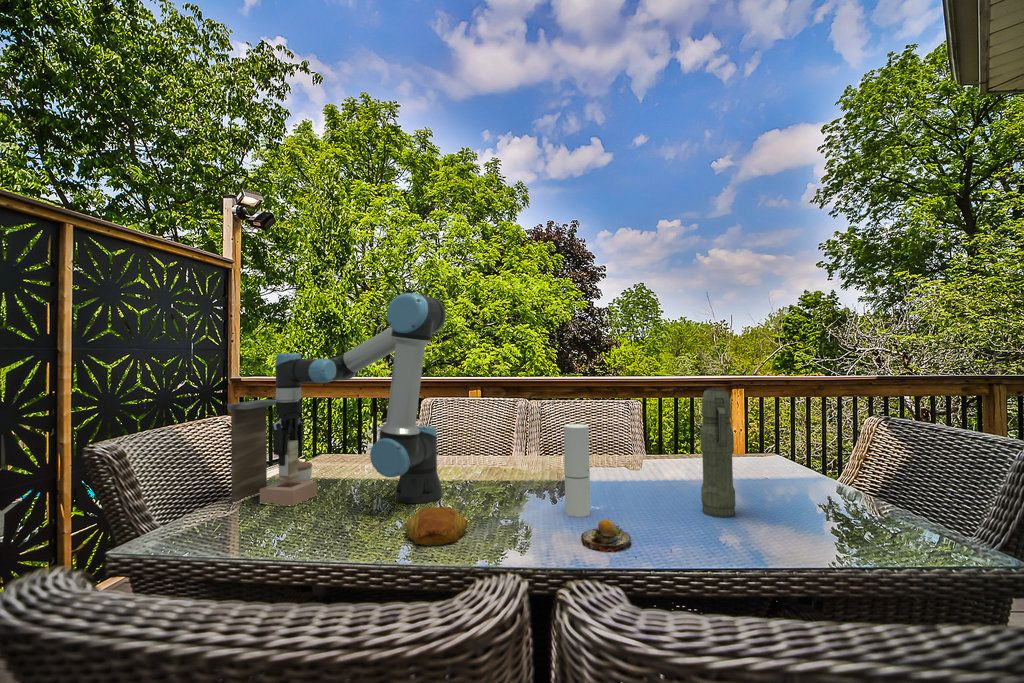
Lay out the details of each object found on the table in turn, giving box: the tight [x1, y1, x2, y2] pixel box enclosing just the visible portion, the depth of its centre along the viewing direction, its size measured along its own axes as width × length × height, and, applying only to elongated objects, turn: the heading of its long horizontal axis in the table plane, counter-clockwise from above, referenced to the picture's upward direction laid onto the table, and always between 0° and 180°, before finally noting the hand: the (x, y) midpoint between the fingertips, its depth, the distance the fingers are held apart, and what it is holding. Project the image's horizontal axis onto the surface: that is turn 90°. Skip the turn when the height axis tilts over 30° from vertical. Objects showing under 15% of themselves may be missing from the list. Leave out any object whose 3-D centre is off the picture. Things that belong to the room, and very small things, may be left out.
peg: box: [278, 439, 299, 481], centre depth 163 cm, size 4×4×12 cm
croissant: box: [405, 506, 469, 546], centre depth 129 cm, size 14×16×8 cm
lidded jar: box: [280, 461, 313, 481], centre depth 180 cm, size 11×11×9 cm
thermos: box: [699, 388, 736, 518], centre depth 145 cm, size 9×12×35 cm
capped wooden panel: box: [226, 399, 278, 503], centre depth 166 cm, size 7×16×32 cm, turn 167°
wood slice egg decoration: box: [580, 518, 632, 553], centre depth 123 cm, size 12×12×8 cm
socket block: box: [259, 480, 318, 506], centre depth 163 cm, size 12×12×5 cm
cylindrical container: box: [563, 423, 591, 518], centre depth 146 cm, size 7×7×25 cm
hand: (288, 473), depth 163 cm, fingers closed on peg, 4 cm apart
